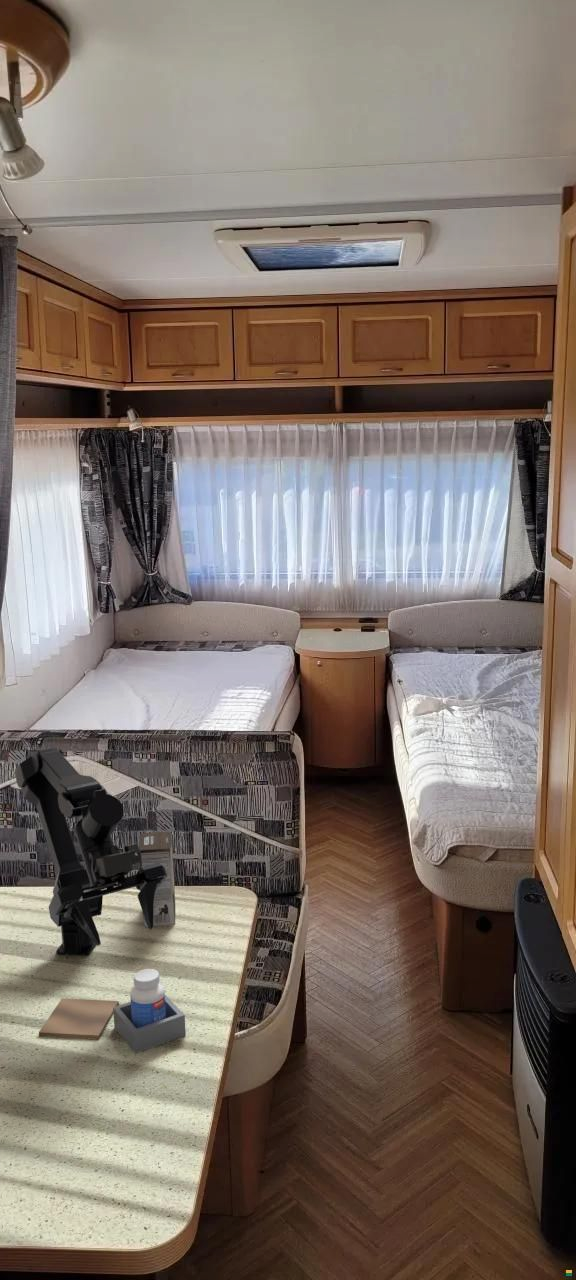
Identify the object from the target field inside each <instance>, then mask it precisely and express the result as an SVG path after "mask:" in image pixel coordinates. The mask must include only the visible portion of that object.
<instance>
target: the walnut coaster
mask: <svg viewBox="0 0 576 1280" xmlns="http://www.w3.org/2000/svg"><path fill="white" fill-rule="evenodd" d="M119 1005H120V1001H119V1000H103V999H83V998H82V999H81V998H62V997H61V998H60V1001H59V1002H58V1003H57V1005H56V1006H55V1008H54V1010H52V1013H51V1014H50V1015H49V1016H48V1018H47V1020H46V1021H45V1022H44V1024H43V1025H42V1027H41V1028H40V1029H39V1031H38V1036H39V1037H40V1036H41V1037H53V1038H54V1037H57V1038H74V1039H75V1038H77V1039H89V1040H90V1039H91V1040H92V1039H95V1040H99V1039H100V1038H101V1037H102V1035H103V1033H104V1032H105V1030H106V1027H108V1024H109V1022H110V1020H111V1019H112V1017H113V1016H114V1015H113V1007H116V1006H119Z"/></svg>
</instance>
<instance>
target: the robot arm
mask: <svg viewBox="0 0 576 1280" xmlns="http://www.w3.org/2000/svg"><path fill="white" fill-rule="evenodd" d="M16 768H17V769H16V771H15V780H16V781H15V782H16V784H17V787H18V788H19V789H21V792H22V794H23V797H24V800H26V801H28V802H29V803H30V804H31V805H33V806H34V807H35V808H36V811H37V814H38V817H39V821H40V824H41V827H42V830H43V833H44V837H45V840H46V843H47V847H48V850H49V853H50V856H51V860H52V863H53V867H54V869H55V873H56V879H55V882H54V885H53V889H52V895H53V896H52V898H51V901H50V902H49V905H48V910H49V911H48V912H49V917H50V919H51V920H52V922H53V923H54V924H55V925H56V926H57V927H58V928H60V930H61V931H60V932H61V944H60V945H59V947H58V948H57V949H56V951H55V953H56V954H55V955H63V954H64V955H65V954H67V956H90V954H91V952H92V951H94V949H95V947H97V946H98V947H99V946H101V938H100V935H99V932H98V929H97V927H96V925H95V924H96V923H95V921H94V919H93V918H94V917H97V916H101V915H102V911H103V900H104V899H103V897H104V896H106V895H107V896H108V895H111V894H115V893H119V892H121V891H125V890H128V889H132V888H136V890H138V891H139V893H138V894H137V895H136V896H137V898H138V899H137V900H138V903H139V905H140V908H141V910H142V914H143V915H144V917H143V919H144V918H145V921H146V924H147V926H146V927H148V929H149V930H150V931H152V930H153V929H154V926H153V904H154V895H155V891H156V890H157V888H158V887H159V886H160V885H161V884H162V882H163V881H164V880H165V878H166V877H167V876H168V875H167V873H166V870H165V867H164V866H163V865H162V864H160V863H159V862H158V863H155V864H151V865H147V866H143V867H141V868H140V867H139V869H138V871H137V872H136V874H135V875H129V876H127V875H128V874H129V873H130V872H132V871H134V865H135V864H140V862H141V861H142V857H141V852H140V849H139V845H138V843H132V844H129V845H125V846H124V851H122V852H121V851H120V848H119V847H118V845H115V842H114V839H113V836H112V835H113V834H114V832H115V831H116V829H117V828H118V826H119V824H120V822H121V821H122V819H123V817H124V813H125V810H124V805H123V803H121V801H120V800H119V799H118V798H117V797H115V796H113V795H112V794H111V793H109V792H108V790H107V789H106V788H105V787H104V786H103V785H102V784H101V783H100V782H99V781H98V780H97V779H96V778H94V777H92V776H91V775H83V774H80V773H79V772H78V771H77V770H76V768H75V767H74V766H73V765H72V764H71V763H70V762H69V760H68V759H67V758H66V757H65V756H64V754H63V751H62V749H61V747H57V746H53V747H52V746H51V747H47V748H42V749H36V751H34V752H32V754H31V756H30V757H28V758H26V759H25V760H24V761H22V762H20V763H19V764H18V767H16ZM79 817H82V818H80V819H79V820H78V821H77V822H76V825H75V827H74V829H73V831H74V837H75V838H76V841H77V843H78V844H77V845H78V847H79V851H80V854H81V857H82V860H83V861H82V862H83V863H82V864H81V863H80V859H79V855H78V853H77V849H76V846H75V843H74V841H73V837H72V834H71V830H70V828H69V824H68V821H67V819H68V820H69V819H73V818H75V819H76V818H79ZM143 915H142V916H143Z"/></svg>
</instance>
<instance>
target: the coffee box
mask: <svg viewBox="0 0 576 1280" xmlns="http://www.w3.org/2000/svg"><path fill="white" fill-rule="evenodd" d="M138 843H139V845H138V847H139V849H140V852H141V857H142V861H141V862H139V869H140V868H141V867H143V866H147V865H151V864H155V863H158V862H159V863H160V864H162V865H163V866H164V867H165V870H166V873H167V875H168V876H167V877H166V878H165V880H164V881H163V882H162V884H161V885H160V886H159V887H158V888H157V890H156V891H155V895H154V904H153V927H157V926H166V925H167V926H169V925H175V924H176V894H175V893H176V891H175V875H174V874H175V873H174V857H173V843H172V831H163V832H161V831H151V832H142V833H139V842H138ZM142 916H143V926H144V927H148V926H147V924H146V921H145V918H144V915H142Z"/></svg>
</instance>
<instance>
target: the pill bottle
mask: <svg viewBox="0 0 576 1280" xmlns="http://www.w3.org/2000/svg"><path fill="white" fill-rule="evenodd" d="M164 988H165V987H164V986H163V985H162V983H161V982H160V973H159V971H158V970H156V969H152V968H145V969H141V970H138V971H136V973H134V975H133V987H132V988H131V989H130V1002H131V1015H132V1024H133V1025H134V1026H135V1027H136V1029H138V1028H140V1027H143V1026H146V1025H149V1024H152V1023H154V1022H157V1021H160V1020H163V1019H166V1012H165V995H166V993H165V989H164Z"/></svg>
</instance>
